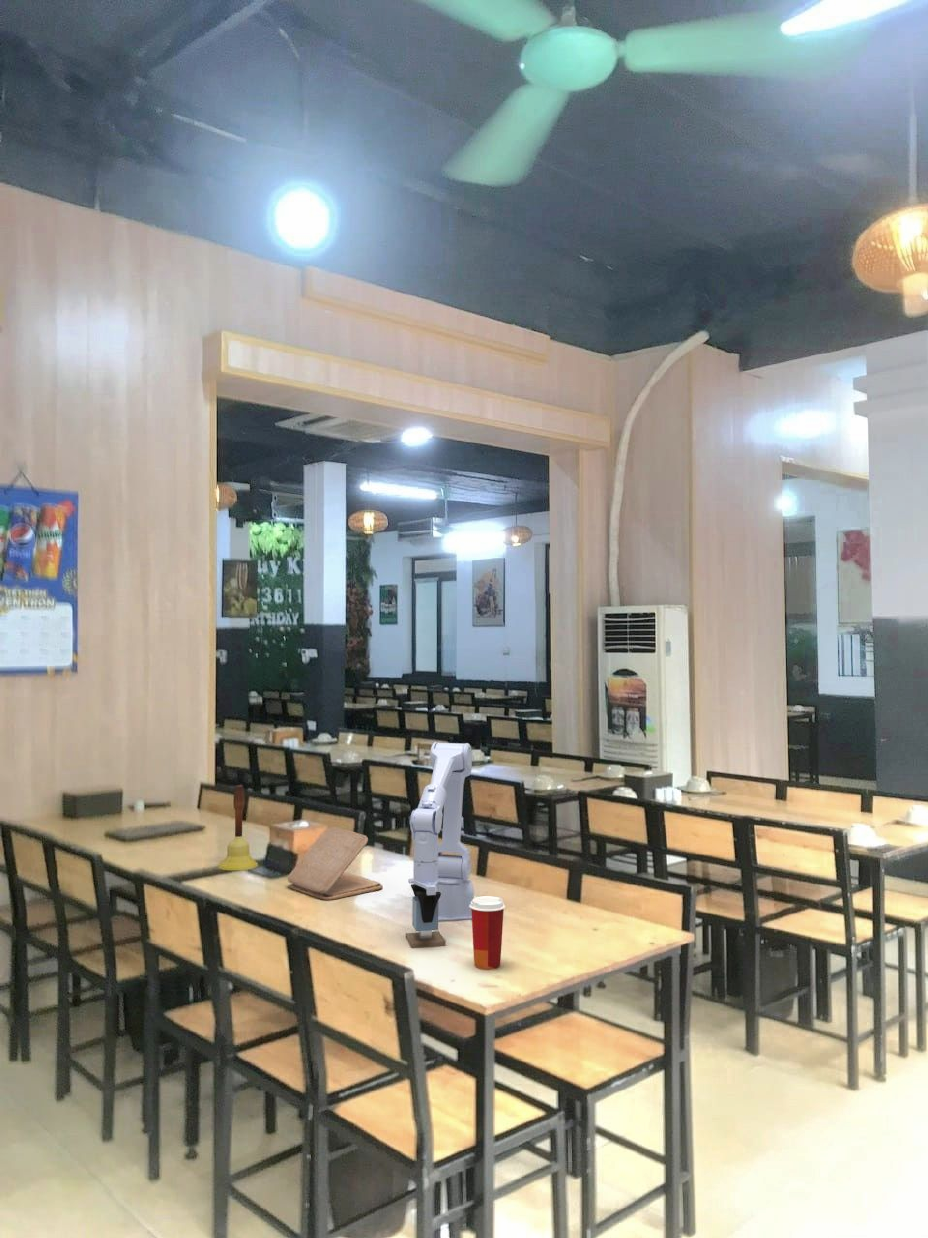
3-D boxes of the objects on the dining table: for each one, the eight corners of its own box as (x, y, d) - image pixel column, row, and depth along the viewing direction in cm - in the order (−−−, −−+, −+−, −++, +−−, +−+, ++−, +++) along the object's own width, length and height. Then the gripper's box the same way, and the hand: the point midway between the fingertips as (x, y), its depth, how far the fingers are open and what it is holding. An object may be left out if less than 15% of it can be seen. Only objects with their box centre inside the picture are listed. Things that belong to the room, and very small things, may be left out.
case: (284, 888, 273) (284, 832, 273) (345, 876, 287) (346, 822, 287) (323, 904, 258) (324, 844, 258) (386, 890, 272) (387, 833, 272)
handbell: (216, 862, 303) (217, 783, 304) (256, 860, 307) (257, 781, 308) (218, 871, 292) (219, 788, 292) (260, 869, 295) (261, 787, 296)
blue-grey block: (433, 923, 227) (434, 895, 227) (438, 930, 222) (438, 901, 222) (412, 925, 226) (412, 896, 226) (416, 931, 221) (416, 902, 221)
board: (438, 935, 229) (438, 931, 229) (445, 945, 221) (445, 941, 221) (405, 937, 227) (405, 933, 227) (411, 948, 219) (411, 943, 219)
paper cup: (503, 959, 212) (503, 895, 212) (506, 971, 204) (506, 905, 204) (468, 959, 211) (468, 895, 212) (469, 971, 204) (469, 905, 204)
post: (429, 935, 226) (429, 913, 226) (431, 938, 223) (431, 917, 223) (418, 936, 225) (418, 914, 225) (420, 939, 223) (420, 917, 223)
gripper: (403, 854, 231) (403, 911, 230) (414, 868, 217) (413, 928, 216) (432, 853, 232) (432, 909, 232) (444, 866, 218) (444, 926, 218)
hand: (425, 918), depth 224 cm, fingers closed on blue-grey block, 5 cm apart
